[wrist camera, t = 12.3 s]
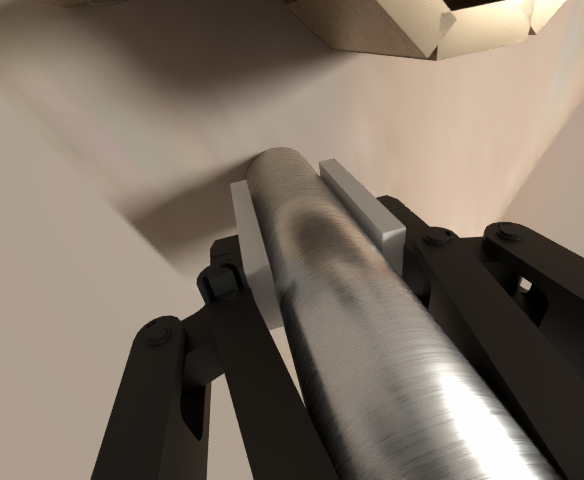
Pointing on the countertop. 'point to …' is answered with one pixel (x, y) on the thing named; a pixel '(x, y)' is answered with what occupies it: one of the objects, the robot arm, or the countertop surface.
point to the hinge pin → (375, 347)
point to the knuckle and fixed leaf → (412, 24)
